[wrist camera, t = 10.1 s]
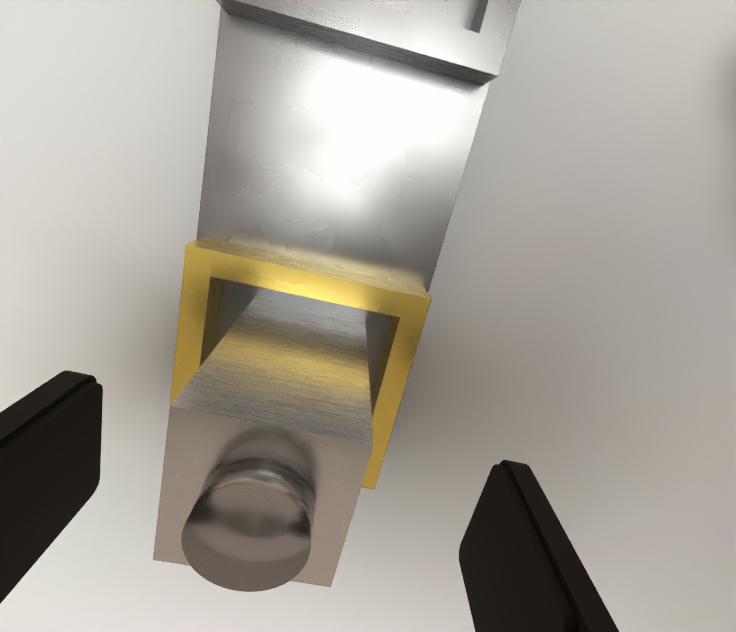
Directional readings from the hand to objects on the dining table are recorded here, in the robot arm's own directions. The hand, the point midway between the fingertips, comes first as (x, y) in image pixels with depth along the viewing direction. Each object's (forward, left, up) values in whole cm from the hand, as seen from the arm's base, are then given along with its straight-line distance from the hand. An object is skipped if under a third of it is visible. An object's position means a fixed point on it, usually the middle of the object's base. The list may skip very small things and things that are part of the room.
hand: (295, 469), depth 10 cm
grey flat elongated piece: (+1, -7, -8) cm, 10 cm away
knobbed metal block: (+1, 0, -6) cm, 6 cm away
